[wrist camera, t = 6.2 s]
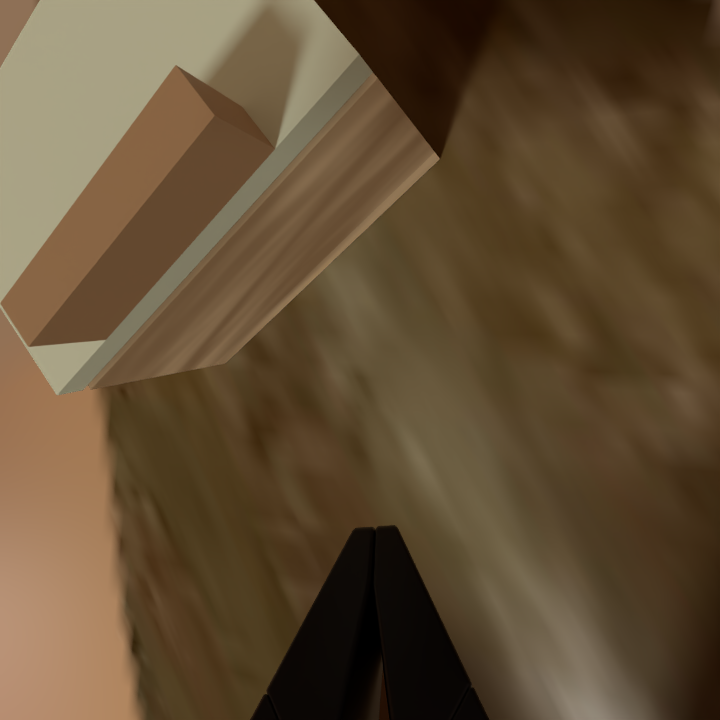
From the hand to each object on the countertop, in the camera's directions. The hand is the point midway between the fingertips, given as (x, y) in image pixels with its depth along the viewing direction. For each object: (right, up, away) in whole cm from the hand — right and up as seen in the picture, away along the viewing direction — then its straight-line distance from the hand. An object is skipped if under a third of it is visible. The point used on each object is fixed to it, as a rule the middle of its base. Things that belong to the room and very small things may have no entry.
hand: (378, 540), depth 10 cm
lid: (-8, +10, +6) cm, 14 cm away
